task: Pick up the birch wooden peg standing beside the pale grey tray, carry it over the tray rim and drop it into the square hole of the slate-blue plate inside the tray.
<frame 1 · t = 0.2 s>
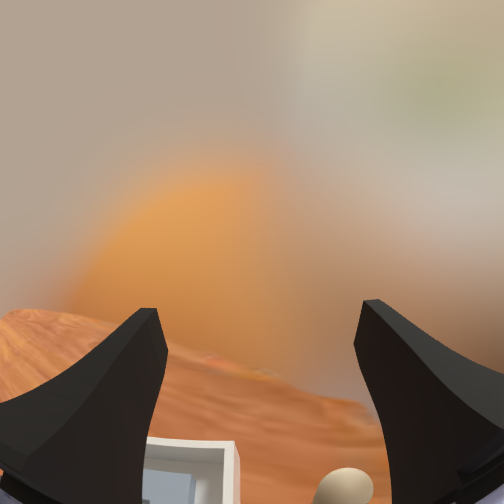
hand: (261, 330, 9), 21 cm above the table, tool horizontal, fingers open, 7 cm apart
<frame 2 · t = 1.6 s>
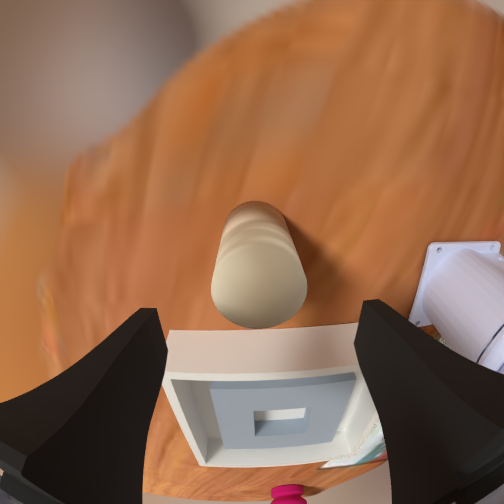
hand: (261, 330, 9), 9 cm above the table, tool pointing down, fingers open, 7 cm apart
bore plate: (279, 401, 26), resting on tray
pepper mill: (286, 487, 40), on the table
tray: (280, 395, 25), on the table
peg: (255, 231, 18), on the table
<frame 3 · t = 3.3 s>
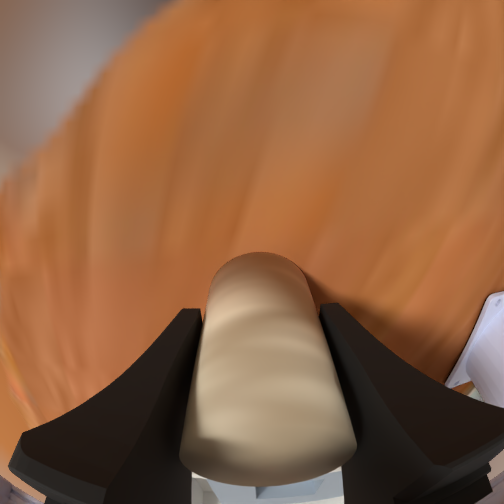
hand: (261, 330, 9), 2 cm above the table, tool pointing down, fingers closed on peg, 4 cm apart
bore plate: (285, 464, 19), resting on tray
tray: (286, 460, 18), on the table
peg: (259, 297, 11), on the table, touching gripper
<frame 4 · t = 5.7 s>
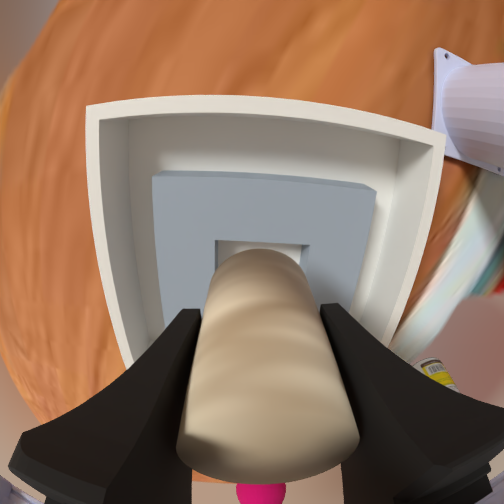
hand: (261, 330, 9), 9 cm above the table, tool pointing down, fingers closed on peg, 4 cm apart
bore plate: (258, 261, 19), resting on tray
pepper mill: (260, 464, 34), on the table
supplement bottle: (418, 371, 25), on the table
tray: (259, 248, 19), on the table
peg: (259, 294, 11), point 7 cm above the table, touching gripper
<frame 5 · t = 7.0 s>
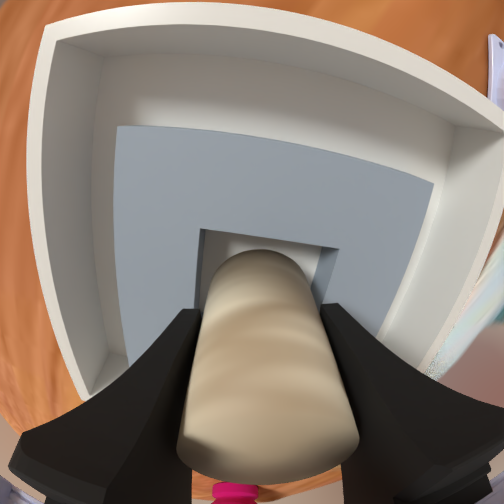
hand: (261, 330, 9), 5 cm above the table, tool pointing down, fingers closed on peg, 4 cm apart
bore plate: (257, 265, 14), resting on tray
pepper mill: (235, 486, 29), on the table
tray: (261, 247, 13), on the table
peg: (259, 295, 11), point 3 cm above the table, touching gripper
when the fingers open (4 cm above the table, at t = 8.1 s): peg drops 1 cm, resting on tray.
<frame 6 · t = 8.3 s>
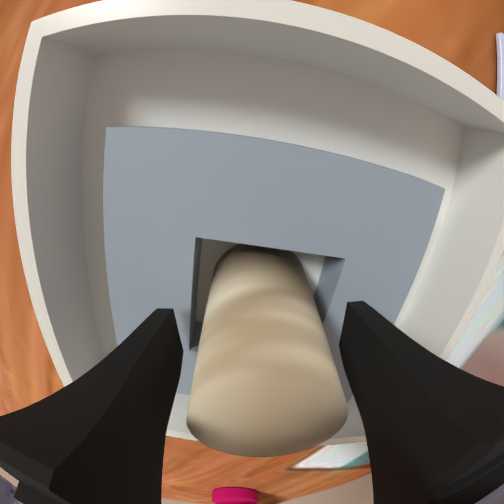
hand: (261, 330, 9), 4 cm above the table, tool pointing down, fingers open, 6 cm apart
bore plate: (257, 274, 13), resting on tray
pepper mill: (235, 491, 28), on the table
tray: (261, 255, 13), on the table
peg: (258, 282, 12), point 1 cm above the table, touching tray
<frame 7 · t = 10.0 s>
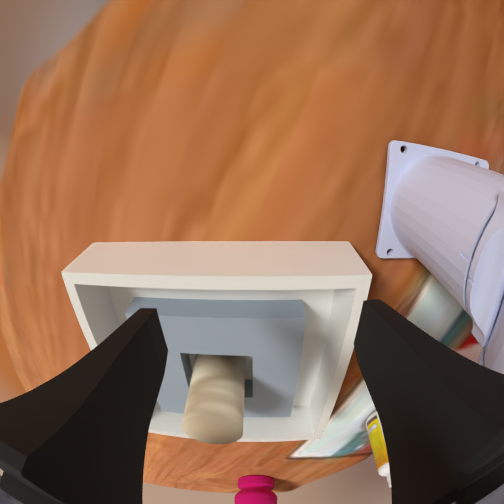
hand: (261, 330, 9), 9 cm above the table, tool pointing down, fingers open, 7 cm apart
bore plate: (221, 352, 22), resting on tray
pepper mill: (255, 478, 37), on the table
supplement bottle: (385, 412, 28), on the table
tray: (220, 344, 22), on the table
peg: (220, 358, 22), point 1 cm above the table, touching tray
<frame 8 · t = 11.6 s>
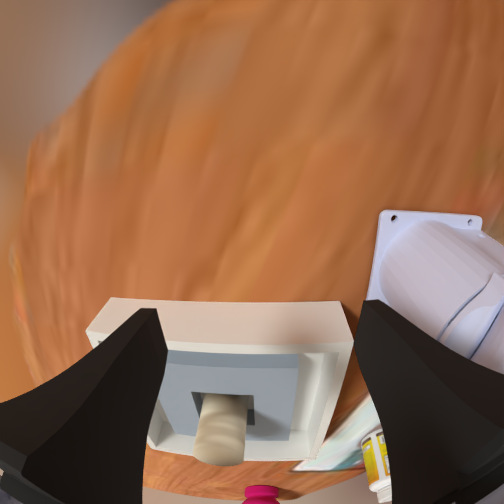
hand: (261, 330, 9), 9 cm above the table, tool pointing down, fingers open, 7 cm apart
bore plate: (228, 387, 25), resting on tray
pepper mill: (261, 488, 39), on the table
supplement bottle: (379, 434, 29), on the table
tray: (227, 380, 24), on the table
peg: (227, 393, 24), point 1 cm above the table, touching tray
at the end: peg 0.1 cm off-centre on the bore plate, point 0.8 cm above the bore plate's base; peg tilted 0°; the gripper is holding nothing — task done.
